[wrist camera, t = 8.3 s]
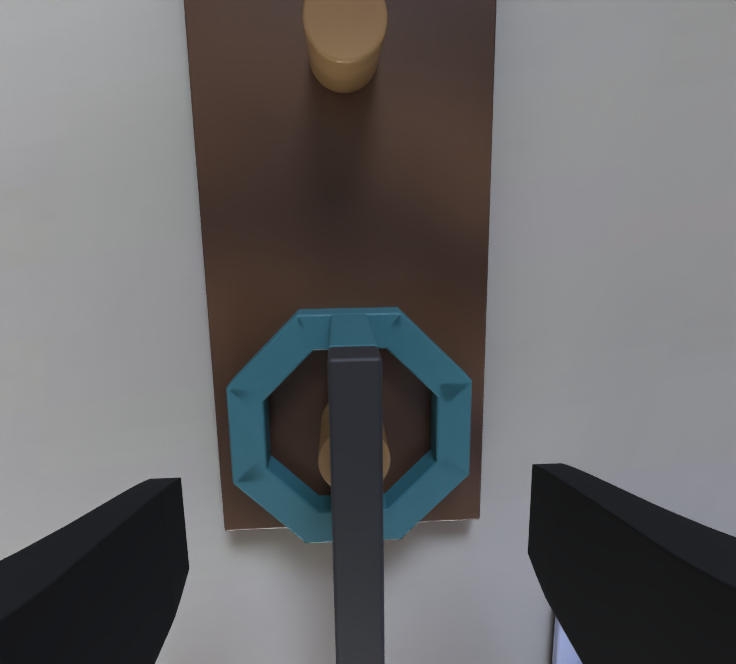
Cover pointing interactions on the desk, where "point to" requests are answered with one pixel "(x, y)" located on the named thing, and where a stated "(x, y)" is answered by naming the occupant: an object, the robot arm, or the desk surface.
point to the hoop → (352, 452)
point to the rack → (343, 206)
